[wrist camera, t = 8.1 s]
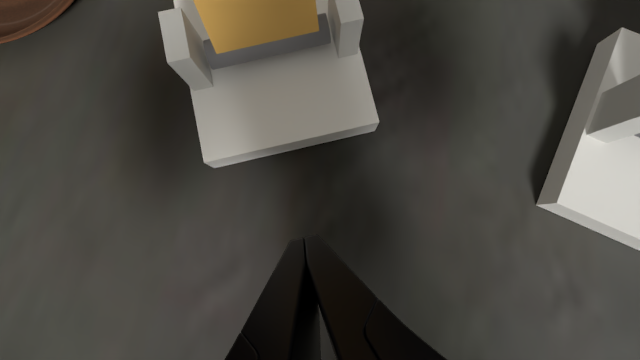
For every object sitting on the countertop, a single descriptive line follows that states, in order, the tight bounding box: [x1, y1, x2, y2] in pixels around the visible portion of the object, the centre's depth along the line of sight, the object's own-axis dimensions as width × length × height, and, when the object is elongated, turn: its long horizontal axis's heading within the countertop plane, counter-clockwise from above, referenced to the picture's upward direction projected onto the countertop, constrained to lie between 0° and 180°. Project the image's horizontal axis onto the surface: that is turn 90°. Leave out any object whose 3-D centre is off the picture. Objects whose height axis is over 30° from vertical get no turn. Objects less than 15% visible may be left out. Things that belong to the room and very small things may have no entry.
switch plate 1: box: [158, 0, 379, 168], centre depth 17 cm, size 10×9×5 cm
